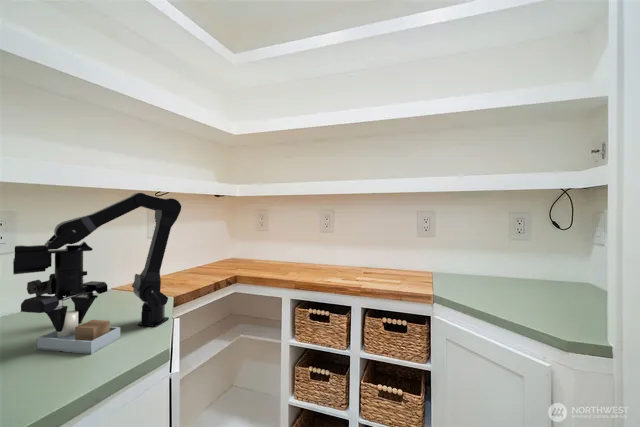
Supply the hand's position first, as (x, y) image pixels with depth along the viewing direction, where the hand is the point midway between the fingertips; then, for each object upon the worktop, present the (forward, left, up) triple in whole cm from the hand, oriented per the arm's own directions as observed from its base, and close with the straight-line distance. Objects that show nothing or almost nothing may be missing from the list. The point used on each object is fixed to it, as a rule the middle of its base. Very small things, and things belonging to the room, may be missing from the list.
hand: (68, 327), depth 77 cm
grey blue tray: (0, +3, -4) cm, 5 cm away
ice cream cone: (-12, -9, -4) cm, 15 cm away
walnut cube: (0, +7, -4) cm, 8 cm away
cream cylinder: (0, 0, -2) cm, 2 cm away
